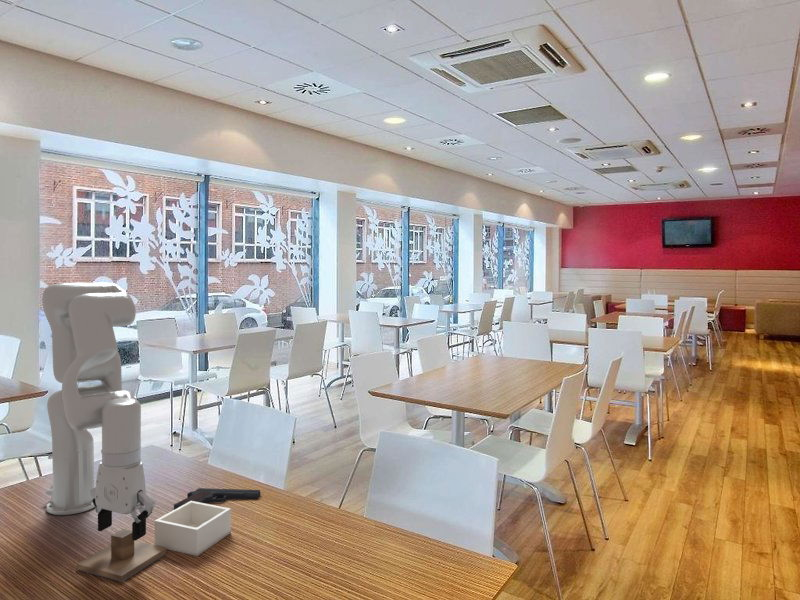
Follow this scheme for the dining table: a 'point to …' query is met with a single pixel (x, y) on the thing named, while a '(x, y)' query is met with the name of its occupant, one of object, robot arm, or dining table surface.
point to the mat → (128, 576)
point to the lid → (121, 556)
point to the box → (193, 527)
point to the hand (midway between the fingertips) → (121, 532)
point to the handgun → (217, 495)
